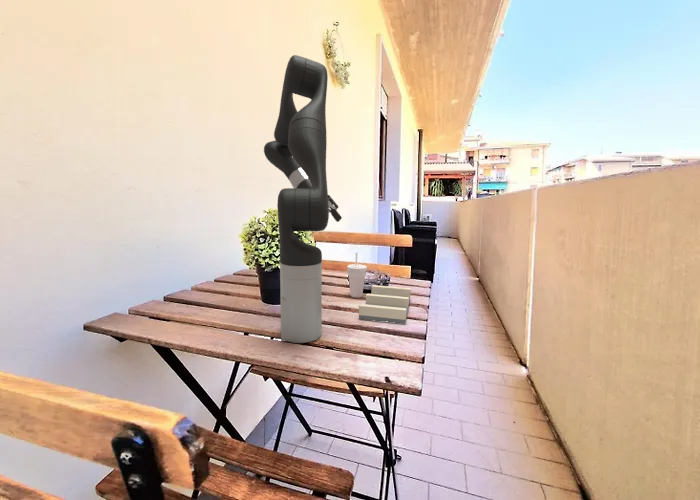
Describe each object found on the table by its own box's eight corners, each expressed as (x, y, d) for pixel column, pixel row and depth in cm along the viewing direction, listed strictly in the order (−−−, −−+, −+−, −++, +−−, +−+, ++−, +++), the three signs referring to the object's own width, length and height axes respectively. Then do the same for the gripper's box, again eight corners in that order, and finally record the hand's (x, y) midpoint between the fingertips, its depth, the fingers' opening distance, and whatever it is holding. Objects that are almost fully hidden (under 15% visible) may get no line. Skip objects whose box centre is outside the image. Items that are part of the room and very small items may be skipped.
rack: (405, 324, 85) (405, 310, 84) (358, 319, 88) (359, 305, 87) (410, 299, 104) (410, 288, 104) (372, 296, 107) (372, 285, 106)
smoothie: (342, 296, 106) (343, 253, 104) (352, 291, 112) (353, 250, 109) (360, 300, 103) (362, 255, 101) (369, 294, 109) (370, 252, 106)
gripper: (296, 175, 105) (325, 214, 101) (324, 177, 117) (351, 212, 113) (284, 192, 109) (311, 230, 105) (312, 192, 121) (338, 226, 117)
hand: (332, 221), depth 109 cm, fingers open, 8 cm apart
